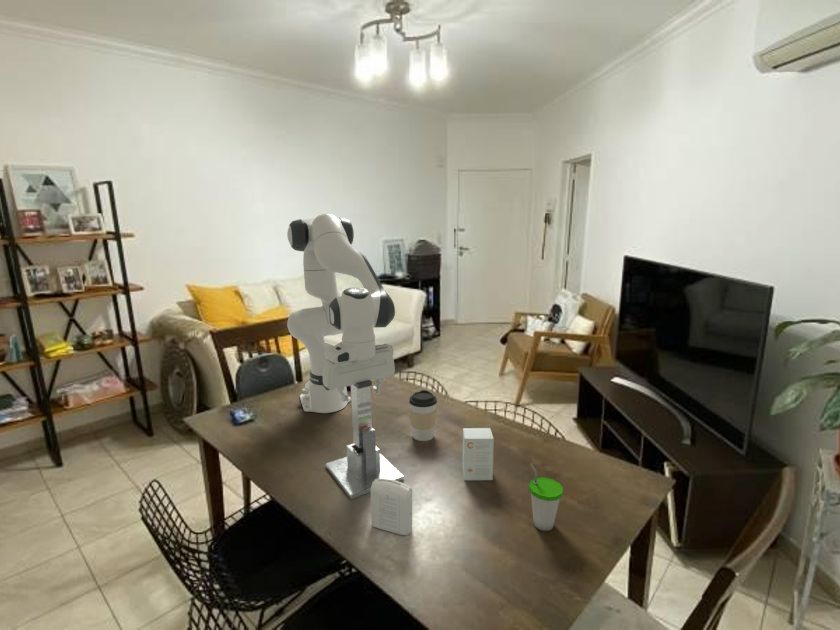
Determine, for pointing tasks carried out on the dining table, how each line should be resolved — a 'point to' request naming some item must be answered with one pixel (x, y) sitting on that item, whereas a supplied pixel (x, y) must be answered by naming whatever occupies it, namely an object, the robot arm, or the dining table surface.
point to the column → (361, 410)
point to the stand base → (362, 467)
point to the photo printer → (391, 506)
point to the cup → (544, 501)
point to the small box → (478, 454)
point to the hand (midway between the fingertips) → (360, 396)
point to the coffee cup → (423, 415)
